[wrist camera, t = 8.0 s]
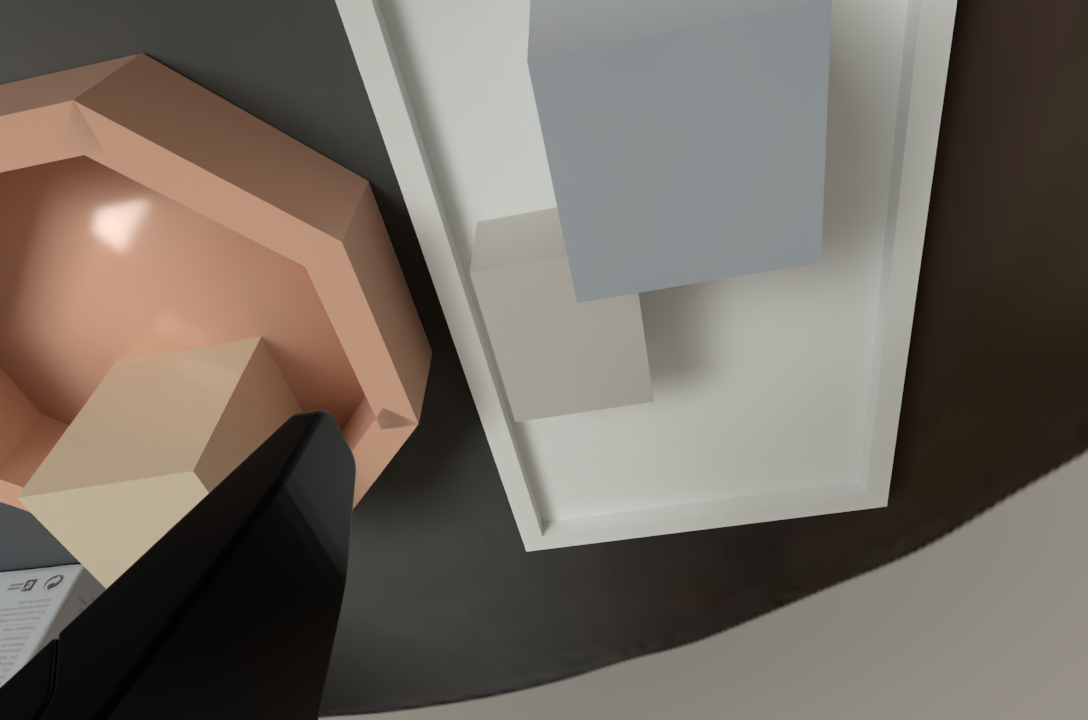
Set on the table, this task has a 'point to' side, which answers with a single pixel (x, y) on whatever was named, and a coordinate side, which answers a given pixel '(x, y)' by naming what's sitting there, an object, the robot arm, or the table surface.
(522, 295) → the beige grey block
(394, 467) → the table surface
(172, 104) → the terracotta dish
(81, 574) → the skincare box
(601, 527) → the parts tray
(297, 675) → the robot arm
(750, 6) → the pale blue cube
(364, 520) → the table surface
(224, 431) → the cream cube
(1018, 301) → the table surface
